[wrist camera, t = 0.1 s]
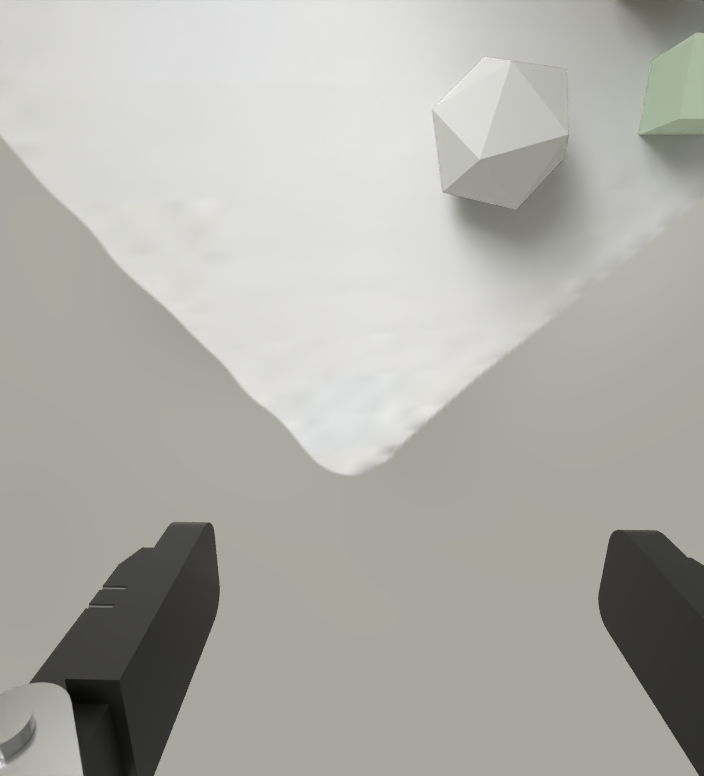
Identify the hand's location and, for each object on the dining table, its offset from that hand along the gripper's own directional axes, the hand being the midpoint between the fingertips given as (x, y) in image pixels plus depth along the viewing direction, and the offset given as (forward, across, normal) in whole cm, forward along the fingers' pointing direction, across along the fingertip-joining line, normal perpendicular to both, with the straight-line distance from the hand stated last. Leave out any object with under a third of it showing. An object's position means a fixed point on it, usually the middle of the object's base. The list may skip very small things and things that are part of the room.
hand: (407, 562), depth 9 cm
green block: (+29, -21, -16) cm, 39 cm away
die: (+29, -8, -13) cm, 33 cm away
